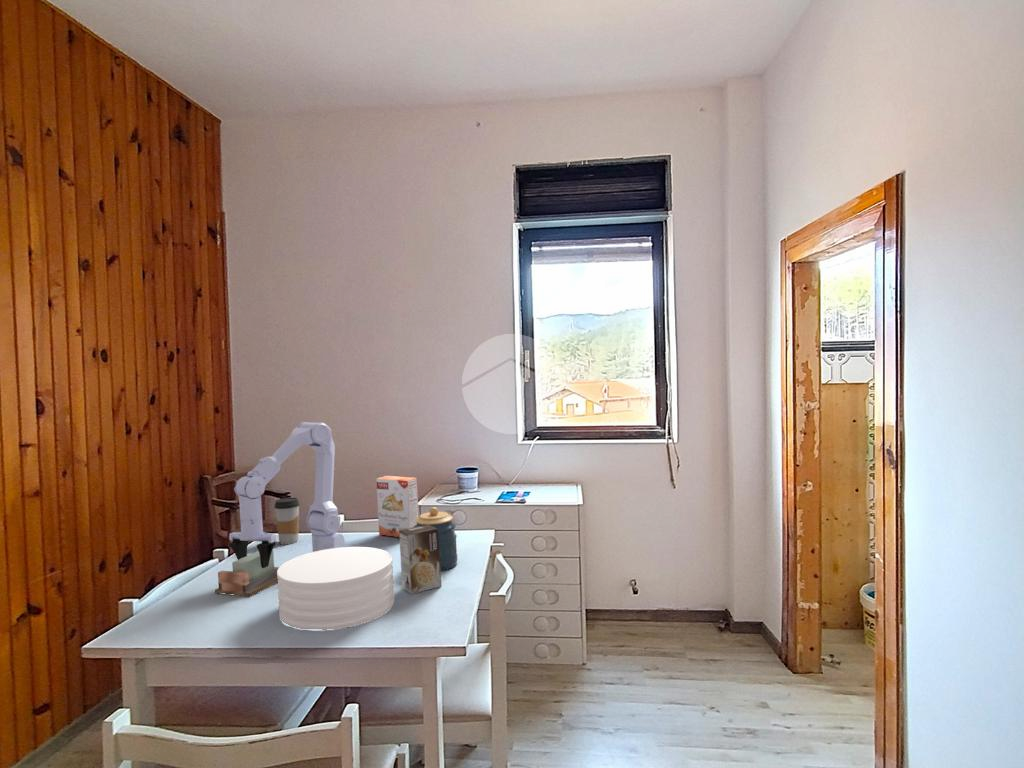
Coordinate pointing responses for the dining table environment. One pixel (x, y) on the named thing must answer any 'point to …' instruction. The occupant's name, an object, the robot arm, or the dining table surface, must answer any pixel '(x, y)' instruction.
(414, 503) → the cracker box
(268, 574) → the track
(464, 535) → the dining table surface
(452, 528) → the canister
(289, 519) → the coffee cup
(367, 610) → the plate stack
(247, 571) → the pale green block
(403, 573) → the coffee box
